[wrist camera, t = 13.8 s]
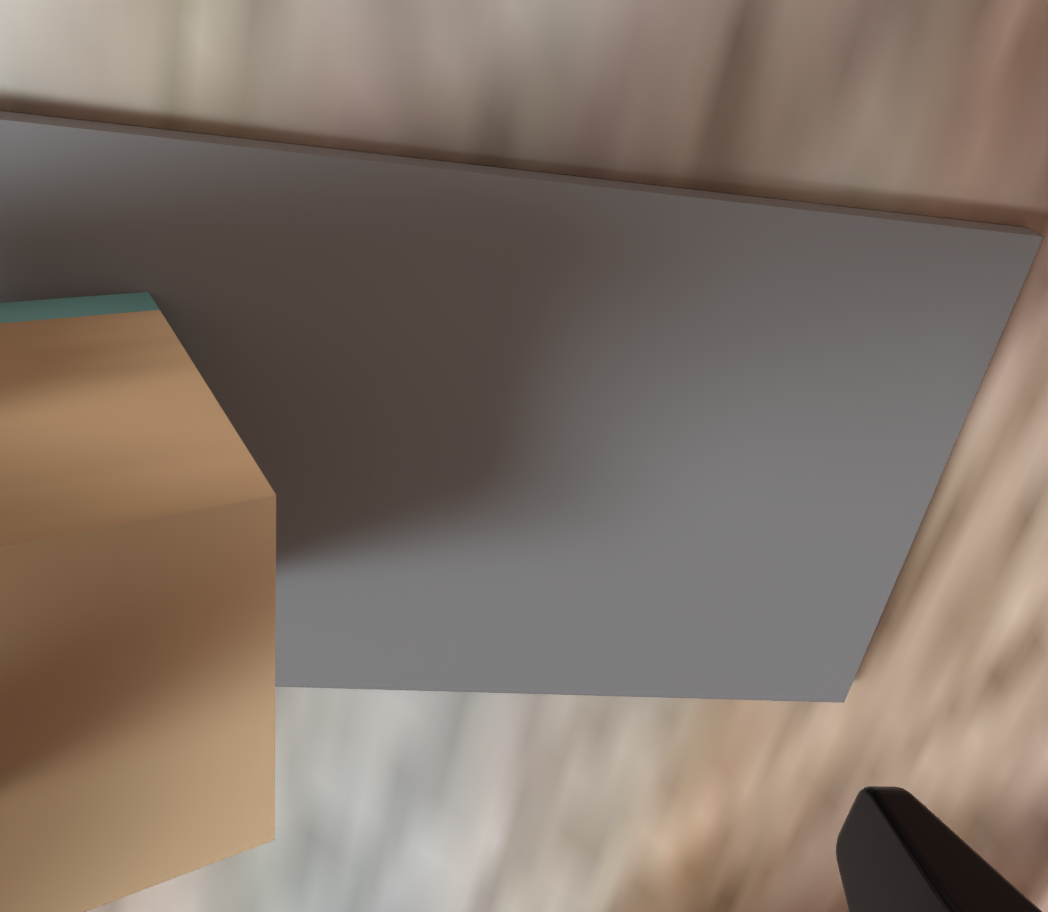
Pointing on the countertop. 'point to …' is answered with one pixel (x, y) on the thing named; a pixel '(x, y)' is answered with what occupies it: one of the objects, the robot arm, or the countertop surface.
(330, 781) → the countertop surface
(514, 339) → the mat
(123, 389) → the block
